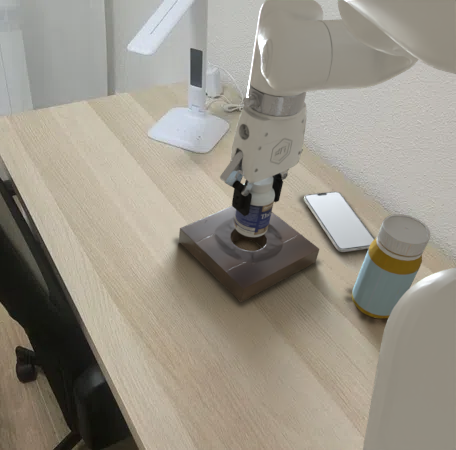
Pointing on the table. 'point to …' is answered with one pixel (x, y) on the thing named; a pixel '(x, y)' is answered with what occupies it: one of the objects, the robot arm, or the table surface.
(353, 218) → the smartphone
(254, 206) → the pill bottle
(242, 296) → the socket board
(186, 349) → the table surface
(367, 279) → the bottle
